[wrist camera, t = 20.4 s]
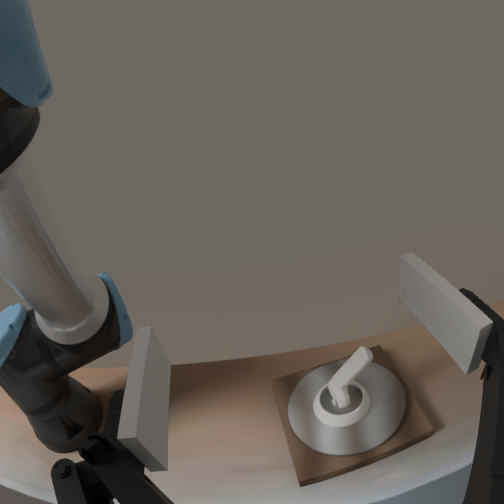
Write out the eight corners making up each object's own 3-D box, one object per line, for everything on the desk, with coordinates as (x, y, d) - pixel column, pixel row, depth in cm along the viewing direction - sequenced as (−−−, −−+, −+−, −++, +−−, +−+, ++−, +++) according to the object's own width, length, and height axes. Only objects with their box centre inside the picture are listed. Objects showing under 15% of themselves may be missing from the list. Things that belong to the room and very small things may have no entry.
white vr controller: (417, 377, 33) (383, 383, 29) (358, 430, 38) (321, 439, 35) (386, 334, 39) (351, 333, 35) (336, 390, 44) (300, 393, 40)
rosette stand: (300, 486, 31) (297, 479, 30) (273, 387, 47) (269, 376, 46) (431, 436, 32) (435, 424, 31) (378, 353, 48) (379, 340, 47)
